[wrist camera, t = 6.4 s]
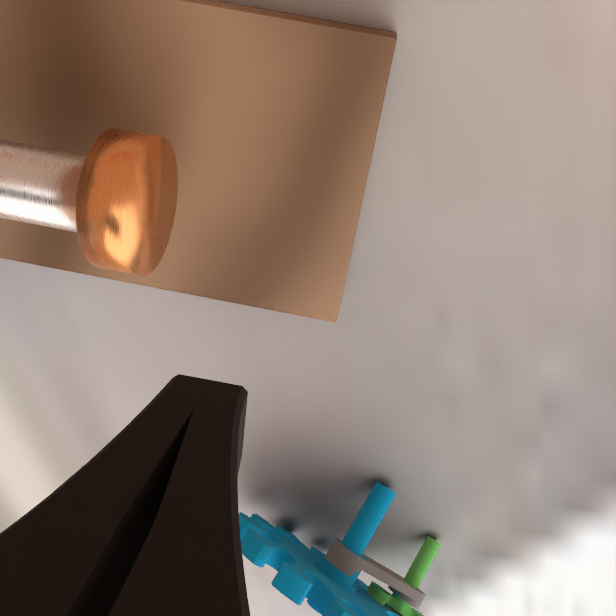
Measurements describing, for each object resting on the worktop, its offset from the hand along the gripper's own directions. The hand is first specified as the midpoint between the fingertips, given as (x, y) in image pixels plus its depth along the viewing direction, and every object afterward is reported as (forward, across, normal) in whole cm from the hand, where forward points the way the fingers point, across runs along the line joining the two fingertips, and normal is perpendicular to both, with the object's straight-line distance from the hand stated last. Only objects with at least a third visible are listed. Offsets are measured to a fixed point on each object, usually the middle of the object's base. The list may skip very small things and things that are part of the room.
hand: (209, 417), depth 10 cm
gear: (+10, -5, +16) cm, 19 cm away
